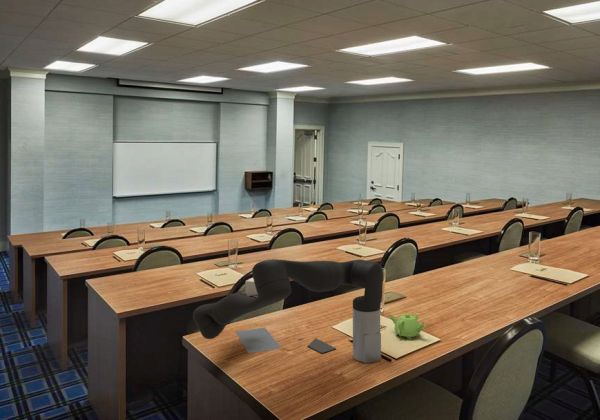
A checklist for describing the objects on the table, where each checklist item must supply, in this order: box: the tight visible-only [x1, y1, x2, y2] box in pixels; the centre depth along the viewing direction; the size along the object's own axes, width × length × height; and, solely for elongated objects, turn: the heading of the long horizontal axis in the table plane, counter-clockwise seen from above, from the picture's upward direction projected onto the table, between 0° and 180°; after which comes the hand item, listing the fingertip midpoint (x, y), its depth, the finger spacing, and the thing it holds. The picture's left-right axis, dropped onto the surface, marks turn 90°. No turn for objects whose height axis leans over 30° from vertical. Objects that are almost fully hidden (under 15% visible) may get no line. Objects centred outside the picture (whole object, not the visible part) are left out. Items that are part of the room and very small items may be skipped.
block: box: [245, 277, 257, 295], centre depth 175 cm, size 5×5×10 cm
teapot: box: [389, 313, 427, 340], centre depth 179 cm, size 11×12×8 cm
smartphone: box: [297, 337, 337, 355], centre depth 172 cm, size 7×1×15 cm
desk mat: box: [235, 327, 282, 354], centre depth 177 cm, size 22×12×1 cm, turn 20°
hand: (257, 293), depth 177 cm, fingers closed on block, 5 cm apart
